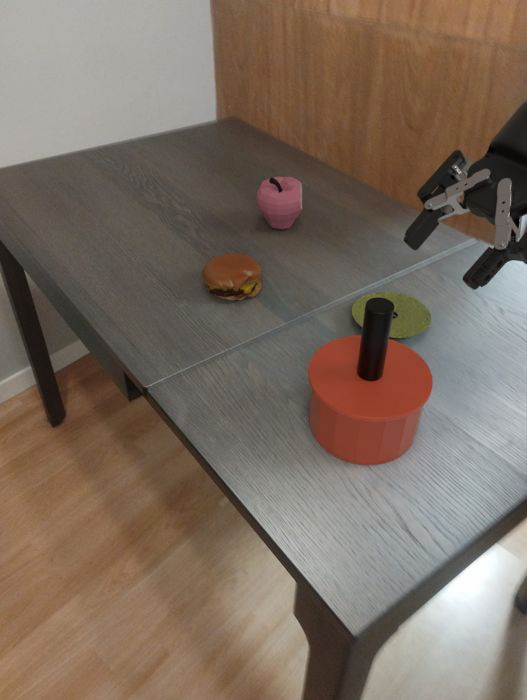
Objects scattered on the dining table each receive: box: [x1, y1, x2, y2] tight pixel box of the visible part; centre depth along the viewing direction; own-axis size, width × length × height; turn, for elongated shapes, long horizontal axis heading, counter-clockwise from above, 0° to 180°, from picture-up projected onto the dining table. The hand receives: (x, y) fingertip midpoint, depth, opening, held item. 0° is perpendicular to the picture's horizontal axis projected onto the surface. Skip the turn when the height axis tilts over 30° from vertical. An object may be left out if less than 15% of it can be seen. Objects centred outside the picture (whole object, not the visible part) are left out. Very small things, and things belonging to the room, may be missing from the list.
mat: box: [351, 291, 432, 339], centre depth 78 cm, size 11×11×2 cm
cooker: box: [309, 387, 424, 466], centre depth 61 cm, size 12×12×8 cm
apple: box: [255, 176, 303, 230], centre depth 99 cm, size 10×9×10 cm
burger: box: [201, 253, 263, 302], centre depth 85 cm, size 10×9×5 cm
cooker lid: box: [307, 297, 434, 422], centre depth 56 cm, size 13×13×10 cm
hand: (437, 264), depth 53 cm, fingers open, 8 cm apart
